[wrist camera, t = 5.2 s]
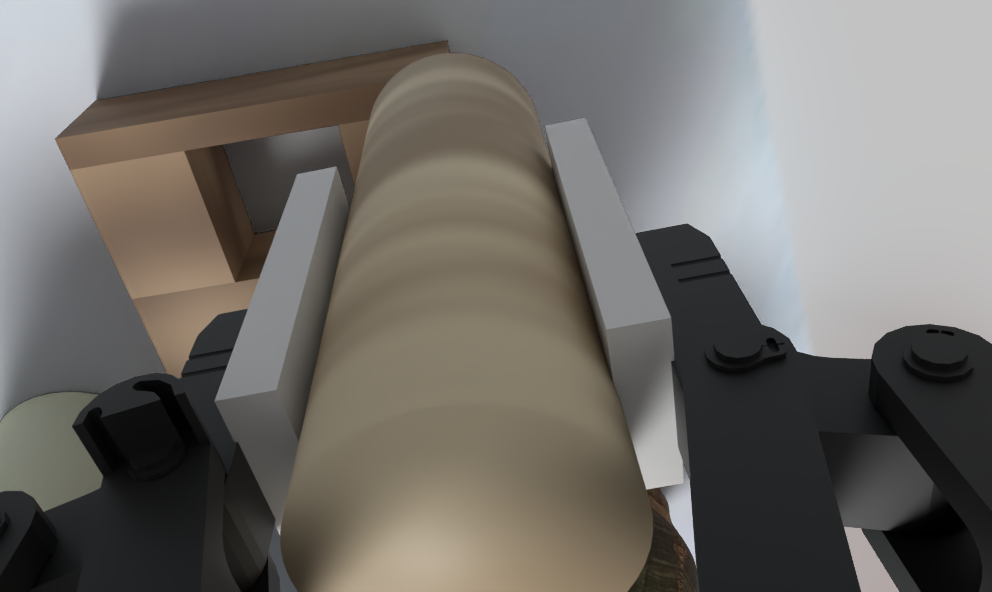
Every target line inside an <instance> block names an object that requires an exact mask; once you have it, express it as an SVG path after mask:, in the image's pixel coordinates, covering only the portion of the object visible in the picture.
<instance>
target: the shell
mask: <svg viewBox="0 0 992 592" xmlns="http://www.w3.org/2000/svg"><path fill="white" fill-rule="evenodd" d="M647 494H648V497H649V501H650V506H651V510H652V515H653V536H652V542H651V548H650V551H649V554H648V557H647V560H646V562H645V565H644V567H643V569H642V570H641V572H640V574H639V576H638V578H637V580H636V581H635V582H634V584H633V585H632V586H631V588H630V589H629V590H628V592H698V580H697V569H696V565H695V562H694V559H693V556H692V554H691V552H690V550H689V548H688V547H687V545H686V543H685V542H684V540H683V539H682V537H681V536H680V535H679V533H678V531H677V530H676V529H675V527H674V526H673V524H672V522H671V519H670V514H669V506H668V503H667V500H666V498H665V496H664V495H663V493H662V492H661V490H660V487H659V488H653V489H647Z"/></svg>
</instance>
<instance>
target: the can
mask: <svg viewBox="0 0 992 592" xmlns="http://www.w3.org/2000/svg"><path fill="white" fill-rule="evenodd" d="M97 396H98V395H97V394H91V393H83V392H59V393H50V394H46V395H41V396H37V397H34V398H32V399H29V400H27V401H25V402H23V403H21V404H19V405H18V406H16V407H15V408H13V409H12V410H11V411H10V412H9V413H7V414H6V415H5V417H4V418H3V419H2V420H1V422H0V492H3V491H23V492H25V493H27V494H29V495H30V496H32V497H34V499H35V500H36V502H37V503H38V504H39V506H40V507H41V509H42V510H43V512H44V511H47V510H49V509H52V508H54V507H57V506H59V505H61V504H64V503H66V502H69V501H71V500H74V499H76V498H79V497H81V496H84V495H86V494H89V493H91V492H93V491H95V490H97V489H99V488H100V487H101V483H102V479H103V475H102V474H101V472H100V471H99V469H98V467H97V466H96V464H95V463H94V461H93V459H92V458H91V456H90V455H89V453H88V451H87V450H86V448H85V447H84V445H83V443H82V442H81V440H80V439H79V437H78V435H77V434H76V432H75V431H74V429H73V428H72V425H73V423H74V421H75V420H76V418H77V416H78V414H79V413H80V411H81V410H82V409H83V408H85V407H86V406H87V405H88V404H89V403H90V402H91V401H92V400H93V399H94V398H95V397H97Z"/></svg>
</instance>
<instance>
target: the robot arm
mask: <svg viewBox="0 0 992 592" xmlns="http://www.w3.org/2000/svg"><path fill="white" fill-rule="evenodd" d="M545 129H546V136H547V142H548V148H549V155H550V161H551V167H552V172H553V175H554V179H555V182H556V186H557V189H558V193H559V196H560V200H561V203H562V207H563V210H564V213H565V217H566V220H567V224H568V227H569V231H570V234H571V238H572V241H573V245H574V248H575V252H576V255H577V259H578V262H579V266H580V269H581V273H582V276H583V280H584V283H585V287H586V290H587V294H588V297H589V301H590V304H591V308H592V311H593V315H594V318H595V322H596V325H597V329H598V332H599V335H600V339H601V342H602V346H603V349H604V353H605V356H606V360H607V363H608V367H609V370H610V374H611V377H612V381H613V384H614V386H615V389H616V391H617V394H618V396H619V398H620V401H621V404H622V408H623V411H624V415H625V418H626V421H627V425H628V428H629V432H630V435H631V439H632V442H633V445H634V449H635V452H636V456H637V459H638V463H639V466H640V469H641V473H642V476H643V480H644V483H645V487H646V490H647V489H653V488H659V487H664V486H670V485H676V484H682V483H684V474H683V462H684V465H685V468H686V471H687V474H688V477H689V479H690V488H691V501H692V515H693V529H694V542H695V554H696V567H697V580H698V592H861V590H860V586H859V582H858V579H857V575H856V571H855V567H854V564H853V560H852V556H851V553H850V549H849V545H848V541H847V537H846V534H845V530H844V527H854V528H862V531H863V533H864V535H865V537H866V538H867V540H868V541H869V543H870V545H871V546H872V548H873V549H874V551H875V553H876V554H877V556H878V558H879V559H880V561H881V562H882V564H883V565H884V567H885V569H886V570H887V572H888V574H889V575H890V577H891V579H892V580H893V582H894V583H895V585H896V587H897V588H898V590H899V592H992V344H991V343H989V342H988V341H986V340H985V339H983V338H982V337H980V336H979V335H976V334H973V333H970V332H967V331H964V330H961V329H958V328H955V327H948V326H940V325H932V324H928V325H927V324H926V325H915V326H905V327H903V328H900V329H897V330H894V331H891V332H888V333H886V334H885V335H884V336H883V337H882V338H881V339H880V340H879V341H877V342H876V343H875V345H874V349H873V354H872V359H848V358H828V357H819V356H812V355H808V354H804V353H800V352H797V351H796V349H795V347H794V346H793V344H792V343H791V341H790V339H789V338H788V337H786V336H785V335H783V334H782V333H780V332H779V331H777V330H775V329H774V328H771V327H767V326H764V325H761V323H760V321H759V320H758V318H757V316H756V315H755V313H754V311H753V309H752V308H751V306H750V304H749V303H748V301H747V299H746V298H745V296H744V294H743V292H742V291H741V289H740V287H739V286H738V284H737V282H736V281H735V279H734V277H733V275H732V274H730V272H729V269H728V267H727V265H726V264H725V262H724V260H723V259H721V255H720V253H719V252H718V250H717V248H716V247H715V245H714V243H713V242H712V240H711V238H710V237H709V236H707V235H706V234H704V233H702V232H701V231H699V230H697V229H696V228H694V227H692V226H690V225H689V224H682V225H677V226H672V227H666V228H661V229H656V230H651V231H645V232H640V233H635V232H634V230H633V227H632V225H631V223H630V220H629V218H628V216H627V213H626V211H625V209H624V206H623V204H622V202H621V199H620V197H619V195H618V192H617V190H616V188H615V185H614V183H613V181H612V178H611V176H610V174H609V171H608V169H607V167H606V164H605V162H604V160H603V157H602V155H601V153H600V150H599V148H598V146H597V143H596V141H595V139H594V136H593V134H592V132H591V129H590V127H589V125H588V122H587V120H586V118H581V119H576V120H570V121H565V122H560V123H555V124H550V125H545ZM349 211H350V207H349V204H348V201H347V198H346V195H345V192H344V188H343V185H342V182H341V179H340V176H339V173H338V169H337V166H336V167H331V168H326V169H321V170H316V171H310V172H305V173H300V174H297V176H296V179H295V181H294V184H293V187H292V190H291V192H290V195H289V198H288V201H287V203H286V206H285V209H284V212H283V214H282V217H281V220H280V223H279V225H278V228H277V231H276V234H275V236H274V239H273V242H272V245H271V247H270V250H269V253H268V256H267V258H266V261H265V264H264V267H263V269H262V272H261V275H260V277H259V280H258V283H257V286H256V288H255V291H254V294H253V297H252V299H251V302H250V305H249V308H248V309H243V310H238V311H233V312H227V313H222V314H218V315H217V316H216V317H215V318H214V319H213V320H212V321H211V322H210V323H209V324H208V325H207V326H206V327H205V328H204V329H203V330H202V331H201V332H200V333H199V334H198V336H197V338H196V340H195V342H194V345H193V347H192V349H191V352H190V354H189V356H188V357H189V360H187V361H186V363H185V365H184V368H183V370H182V372H181V378H179V379H178V378H176V377H175V376H173V375H170V374H159V373H154V374H149V375H143V376H138V377H134V378H132V379H129V380H127V381H124V382H122V383H119V384H117V385H114V386H113V387H111V388H109V389H108V390H106V391H105V392H103V393H101V394H100V395H98V396H97V397H95V398H94V399H93V400H92V401H91V402H90V403H89V404H88V405H87V406H86V407H85V408H83V409H82V410H81V411H80V413H79V414H78V416H77V418H76V420H75V421H74V423H73V425H72V428H73V429H74V431H75V432H76V434H77V435H78V437H79V439H80V440H81V442H82V443H83V445H84V447H85V448H86V450H87V451H88V453H89V455H90V456H91V458H92V459H93V461H94V463H95V464H96V466H97V467H98V469H99V471H100V472H101V474H102V475H103V479H102V483H101V487H100V488H99V489H97V490H95V491H93V492H91V493H89V494H86V495H84V496H81V497H79V498H76V499H74V500H71V501H69V502H66V503H64V504H61V505H59V506H57V507H54V508H52V509H49V510H47V511H44V512H43V510H42V509H41V507H40V506H39V504H38V503H37V502H36V500H35V499H34V497H32V496H30V495H29V494H27V493H25V492H23V491H3V492H0V592H280V578H279V575H278V571H277V568H276V565H275V563H274V561H273V559H272V557H271V555H270V553H269V547H270V543H271V538H272V534H273V529H274V525H275V526H276V528H277V530H278V532H279V534H280V528H281V523H282V518H283V513H284V508H285V504H286V499H287V494H288V490H289V485H290V481H291V476H292V472H293V467H294V462H295V458H296V453H297V449H298V444H299V440H300V435H301V430H302V426H303V421H304V417H305V412H306V408H307V403H308V399H309V394H310V389H311V385H312V380H313V376H314V371H315V367H316V362H317V357H318V353H319V348H320V344H321V339H322V335H323V330H324V325H325V321H326V316H327V312H328V307H329V303H330V298H331V293H332V289H333V284H334V280H335V275H336V271H337V266H338V261H339V257H340V252H341V248H342V243H343V239H344V234H345V229H346V225H347V220H348V216H349ZM682 460H683V461H682Z"/></svg>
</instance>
